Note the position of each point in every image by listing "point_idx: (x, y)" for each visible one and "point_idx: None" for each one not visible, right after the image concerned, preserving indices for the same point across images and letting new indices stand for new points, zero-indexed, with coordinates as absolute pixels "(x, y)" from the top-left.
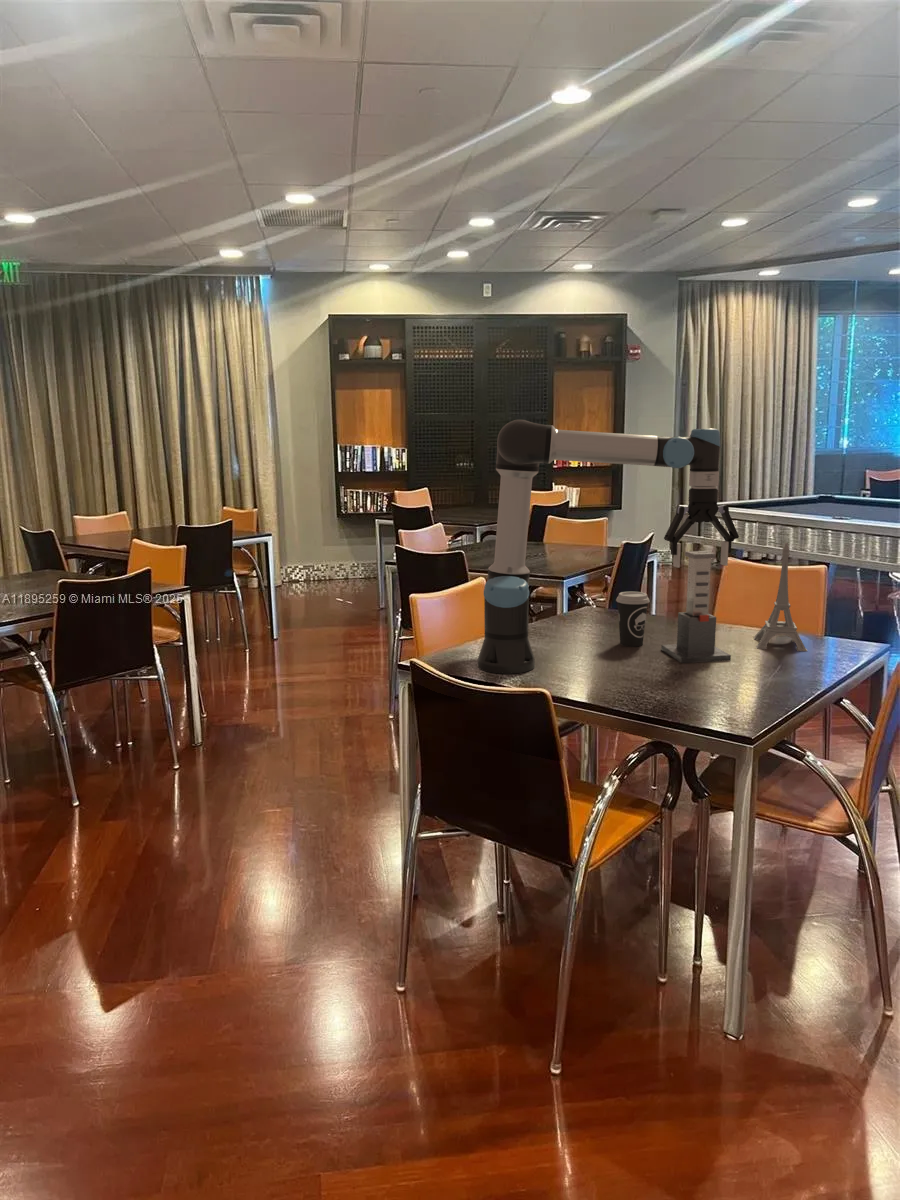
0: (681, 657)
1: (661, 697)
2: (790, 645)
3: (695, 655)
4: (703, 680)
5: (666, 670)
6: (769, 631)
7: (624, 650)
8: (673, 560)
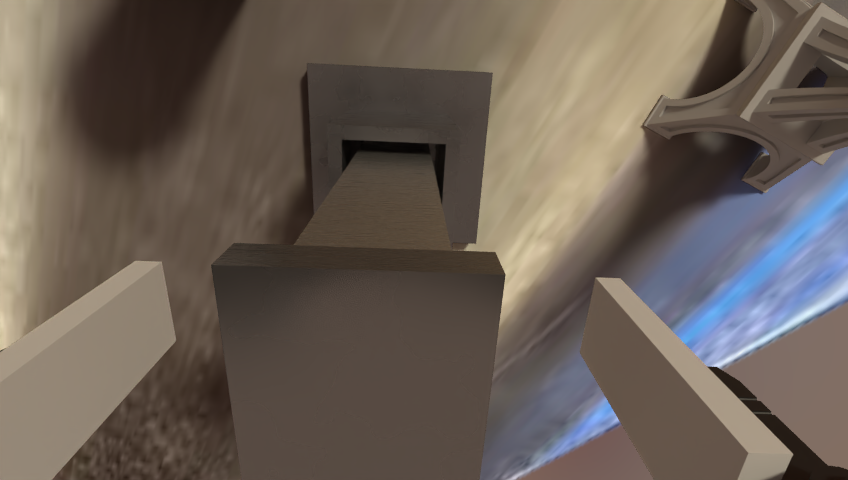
0: None
1: (177, 456)
2: None
3: None
4: None
5: None
6: (733, 116)
7: (172, 37)
8: (99, 287)
